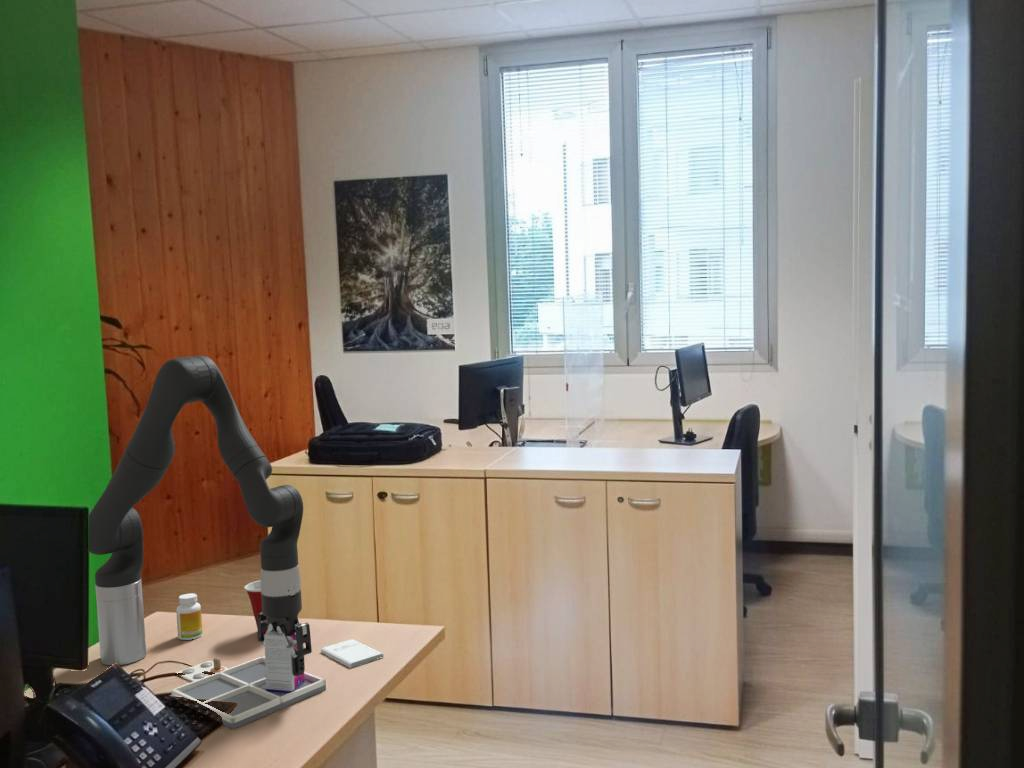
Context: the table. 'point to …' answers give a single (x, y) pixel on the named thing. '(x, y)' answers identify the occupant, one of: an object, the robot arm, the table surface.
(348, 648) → the external hard drive
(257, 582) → the plastic cup
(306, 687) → the socket board
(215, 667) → the tile
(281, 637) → the supplement box
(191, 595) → the supplement bottle
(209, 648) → the table surface
